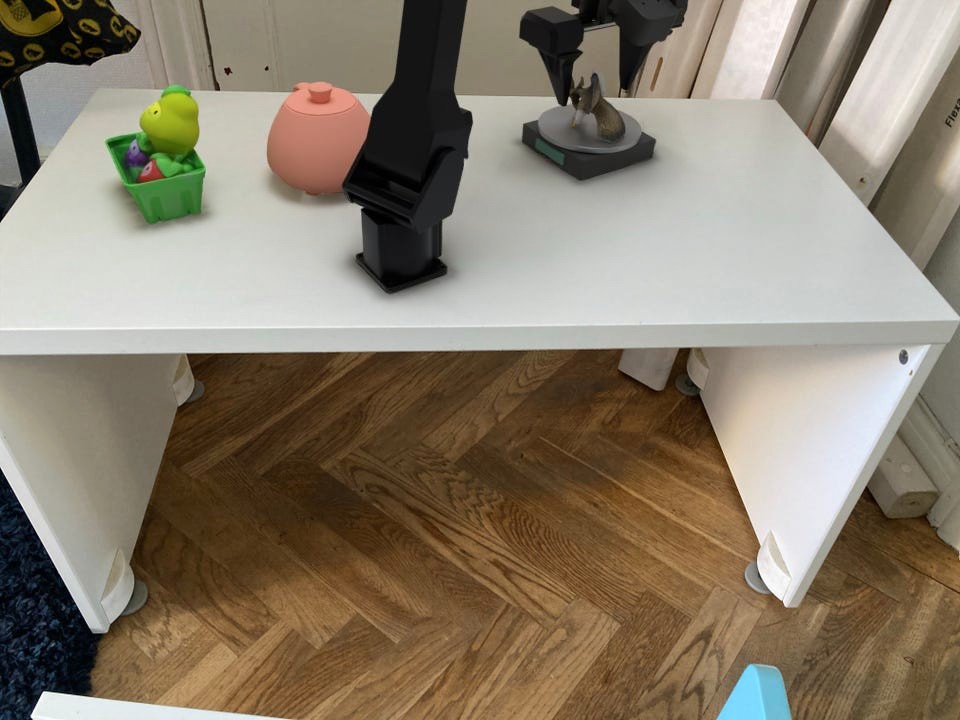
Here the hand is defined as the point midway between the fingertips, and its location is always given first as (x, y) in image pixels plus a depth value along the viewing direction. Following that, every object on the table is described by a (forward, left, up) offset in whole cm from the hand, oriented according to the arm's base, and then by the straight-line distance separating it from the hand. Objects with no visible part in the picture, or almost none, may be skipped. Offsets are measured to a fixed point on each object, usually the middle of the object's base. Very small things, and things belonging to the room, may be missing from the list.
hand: (594, 97), depth 93 cm
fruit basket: (-45, +13, -7) cm, 47 cm away
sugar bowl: (-29, +10, -7) cm, 31 cm away
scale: (0, 0, -6) cm, 6 cm away
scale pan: (0, 0, -4) cm, 4 cm away
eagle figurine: (0, 0, -4) cm, 4 cm away
